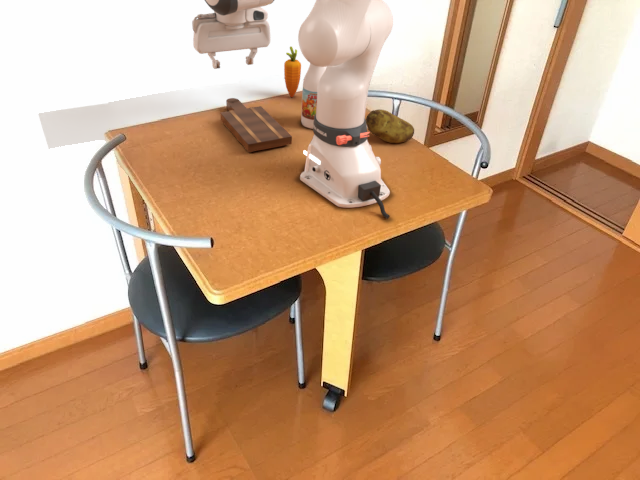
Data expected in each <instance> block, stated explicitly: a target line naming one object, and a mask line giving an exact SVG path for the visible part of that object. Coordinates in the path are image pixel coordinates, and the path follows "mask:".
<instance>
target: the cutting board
mask: <svg viewBox="0 0 640 480" xmlns="http://www.w3.org/2000/svg"><path fill="white" fill-rule="evenodd" d="M225 105H226V106H225V107H226V109H227V110H228V111H227V110H226V111H221V112H220V113H219V115H220V121H221V122H222V124H224V126H225V127H226V129H228V130H229V131H230V133H231V134H232V136H234V138H235V139H236V140H237V141H238V143H240V145H241V146H242V147H243V148H244V149H245V150H246V152H247V153H254V152H257V151H261V150H268V149H274V148H278V147H286V146H289V145H292V144H293V135H292V134H290V133H289V132H288V131H287V130H286V129H285V128H284V126H282V125H281V124H280V123H279V122H278V121H277V120H276V119H275V118H274V117H273V116H272V115H271V114H269V112H268V111H266V110H265V108H264V107H263V106H261V105H259V106H251V107H250V106H249V107H248V108H247V106H246V105H244V104H243V102H241V101H240V100H239V98H235V97H230V98H227V99H226V101H225Z"/></svg>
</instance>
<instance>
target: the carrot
mask: <svg viewBox="0 0 640 480" xmlns="http://www.w3.org/2000/svg"><path fill="white" fill-rule="evenodd" d="M289 51H290V52H286V56H288V57H289V59H287V60H285V61H284V64H283V67H284V68H283V72H284V74H283V76H284V83H285V88H286V91H287V93H288V96H289V97H290V98H293V97H295V95H296V93H297V91H298V89H299V85H300V80H301V74H302V63H301V62H300V60H299V59H296V58H297V56H298V50H297V49H295V48H294V47H293V46H289Z"/></svg>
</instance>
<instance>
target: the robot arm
mask: <svg viewBox="0 0 640 480" xmlns="http://www.w3.org/2000/svg"><path fill="white" fill-rule="evenodd" d="M204 2H205V3H206V4H207V6H208V7H209V8H210V9H211V10H212V11H213V12H211V13H199V14H197V16H195V17H193V19H192V22H191V25H192V30H193V40H192V41H193V42H192V43H193V48H194V50H195V51H196V52H197V53H199V54H201V55H202V54H203V55H204V54H207V56H208V57H209V58H210V60H211V64H212V68H213V69H214V70H216V69H221V66H220V65H221V61H219V60H218V59H216V58H215V57H216V53H222V52H231V51H242V50H250V52H249V54H248V55H247V56H245V64H246V65H247V66H250V65H254V59H255V57H256V55H257V54H258V49H259V48H268V47H269V45H270V44H271V27H270V23H269V22H268V17H269V14H268V11H266V9H264V8H262V7H267V6H269V5H271V4H273V3H274V2H275V0H204ZM393 26H394V18H393V13H392V10H391V8H390V7H389V5H388V4H387V3H386V2H385V1H384V0H315V2H314V4H313V7H312V9H311V11H310V12H309V14H308V15H307V17H306V18H305V19H304V21H303V22H302V23H301V25H300V27H299V29H298V35H297V41H298V42H297V43H298V47H299V50H300V52H301V54H302V56H303V57H304V59H305V60H306V61H307V62H308V63H309V64H310V63H311V64H313V65H315V66H318V67H327V68H326V70H325V72H324V73H323V75H322V76H321V78H320V80H319V83H318V90H317V107H316V114H315V116H314V121H313V129H312V132H313V136H312V139H311V141H310V142H309V144H308V145H307V150H305V149H304V150H303V155H305V156H306V157H305V165H304V171H302V172H301V173H300V176H299V180H300V181H301V182H302V183H304V184H305V185H306V186H308V187H310V188H311V189H312V190H314V191H315V192H317V193H318V194H319V195H320V196H322V197H323V198H325V199H326V200H327V201H329V202H331V203H332V204H334V205H335V206H336V207H338V208H348V209H349V208H351V209H352V208H360V207H365V206H369V205H373V204H376V203H377V205H378V206H379V210H380V214H381V216H383V217H384V218H385V219H387V220H388V219H390V216H391V215H389V214H388V213H387V212H386V209H385V205H384V203H383V202H382V201H384V200H386V199H387V198H388V197H389V196H390V194H391V191H390V189H389V187H388V186H387V185H386V183H385V181H383V179H382V170H381V164H382V160H381V157H380V156H375V153H374V151H373V148H372V145H371V144H370V143H369V140H368V137H370V135H369V134H370V133H371V132H370V131H368V127H367V124H366V112H367V111H366V110H367V102H368V95H369V90H370V85H371V82H372V79H373V75H374V72H375V68H376V65H377V63H378V60H379V57H380V55H381V51H382V49H383V46H384V44H385V43H386V41H387V39H388V37H389V36H390V35H391V32H392V30H393Z"/></svg>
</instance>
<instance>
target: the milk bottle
mask: <svg viewBox="0 0 640 480" xmlns="http://www.w3.org/2000/svg"><path fill="white" fill-rule="evenodd" d="M326 68H327V67H318V66H315V65H313V64H311V63H310V62H309V67H308V69H307V71H306V73H305V75H304V78H303V81H302V93H301V117H300V122H301V125H302V126H303V127H305V128H307V129H312V130H313V121H314V116H315V114H316V107H317V90H318V83H319V80H320V78H321V76H322V75H323V73H324V72H325V70H326Z"/></svg>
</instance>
